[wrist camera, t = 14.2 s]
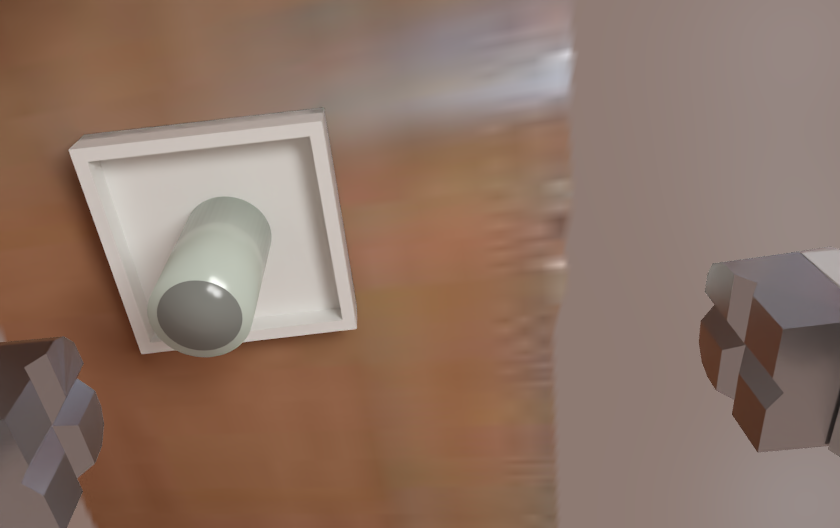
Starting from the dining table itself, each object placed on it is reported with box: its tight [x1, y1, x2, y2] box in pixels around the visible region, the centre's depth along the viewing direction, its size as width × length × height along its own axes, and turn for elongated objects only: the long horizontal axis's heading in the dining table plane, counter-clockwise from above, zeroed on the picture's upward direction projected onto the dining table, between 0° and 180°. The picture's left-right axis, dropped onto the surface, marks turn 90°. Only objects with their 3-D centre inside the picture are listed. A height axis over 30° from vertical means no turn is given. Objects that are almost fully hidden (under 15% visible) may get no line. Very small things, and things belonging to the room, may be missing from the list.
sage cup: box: [147, 196, 272, 357], centre depth 40 cm, size 5×5×9 cm
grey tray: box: [69, 108, 357, 354], centre depth 44 cm, size 14×14×2 cm
